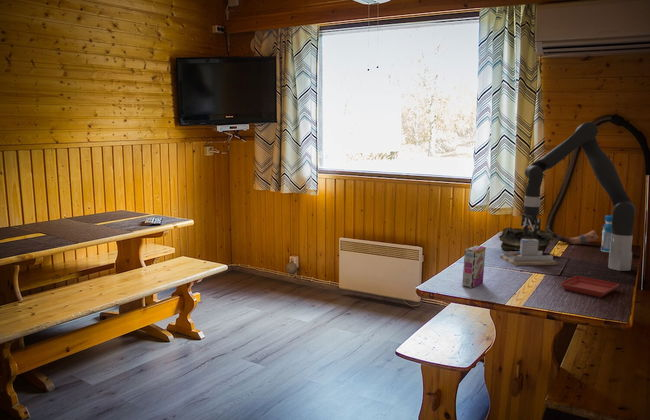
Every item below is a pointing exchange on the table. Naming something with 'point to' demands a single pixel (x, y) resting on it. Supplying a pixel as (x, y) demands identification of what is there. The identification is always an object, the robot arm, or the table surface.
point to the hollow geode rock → (514, 236)
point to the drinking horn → (576, 238)
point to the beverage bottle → (606, 234)
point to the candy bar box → (473, 266)
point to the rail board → (528, 262)
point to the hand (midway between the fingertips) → (529, 236)
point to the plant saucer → (589, 286)
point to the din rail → (540, 257)
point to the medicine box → (529, 247)
